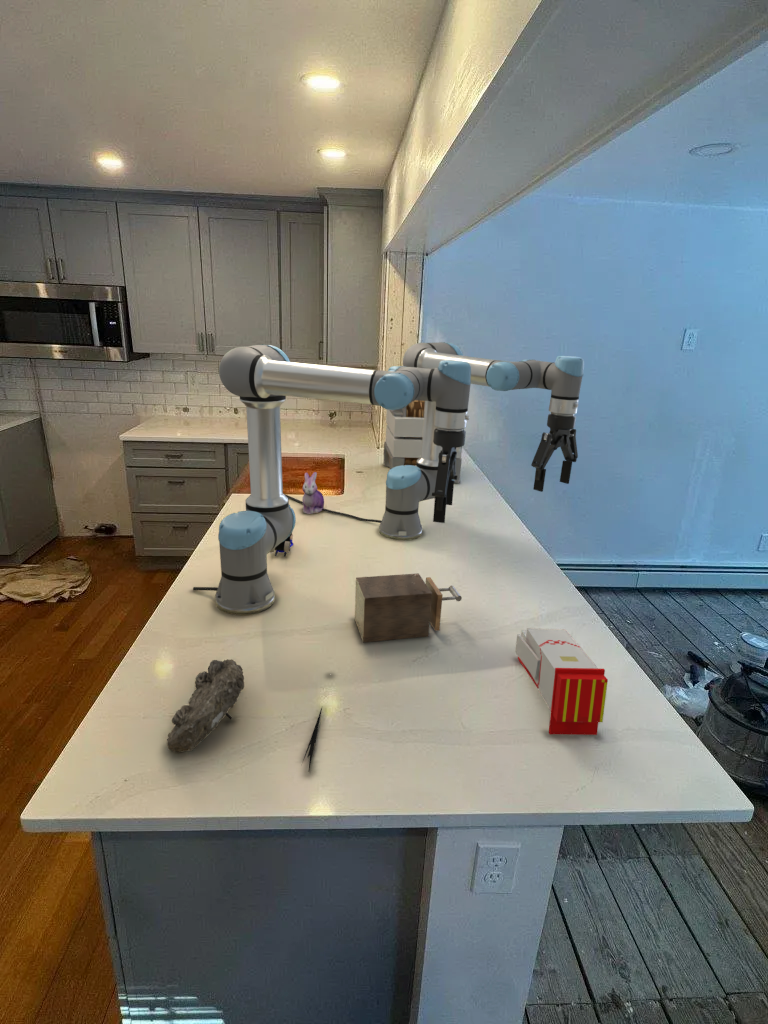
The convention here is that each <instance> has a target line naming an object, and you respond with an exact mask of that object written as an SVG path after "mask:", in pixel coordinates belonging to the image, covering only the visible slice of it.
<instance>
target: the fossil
mask: <svg viewBox="0 0 768 1024" xmlns="http://www.w3.org/2000/svg"><path fill="white" fill-rule="evenodd" d="M243 670H244V669H243V667H242V665H240V664H237V662H236V661H235V660H234V659H232V658H231V659H227V658H226V659H224V660H223V661H222V660H217V659H212V660H211V661H210V663H209V665H208V666H207V671H201V672H199V673H198V674H197V675H196V676H195V680H194V684H195V685H194V687H195V689H194V690H193V693H192V694H191V697H190V698H189V700H188V704H184V705H182V706H181V707H180V709H177V710H176V711H175V713H174V715H173V716H172V718H171V723H172V724H173V727H172V730H171V731H170V732H168V734H167V738H166V741H167V742H166V745H167V749H168V750H169V751H173V752H174V753H176V754H178V753H182V752H188V751H189V752H192V751H193V750H195V748H196V747H197V746H199V744H200V743H201V742H203V741H204V740H205V739H206V738H207V737H208V736H209V735H210V734H211V733H212V732H214V730H215V729H217V727H218V726H219V724H220V722H221V721H222V720H223V719H224V718H225V716H226V717H227V719H229V720H233V717H232V715H230V714H229V710H230V709H231V708H234V706H235V704H236V703H237V702H238V699H239V697H240V695H241V693H242V691H243V690H245V689H244V688H245V675H244V671H243Z"/></svg>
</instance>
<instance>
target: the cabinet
mask: <svg viewBox="0 0 768 1024" xmlns="http://www.w3.org/2000/svg"><path fill="white" fill-rule="evenodd" d="M354 593H355V595H354V621H355V624H356V627H357V629H358V632H359V635H360V638H361V640H362V643H371V642H372V643H373V642H382V641H393V640H404V639H413V638H414V639H415V638H424V637H425V638H427V637H429V634H430V633H429V632H430V609H431V596H432V593H431V591H430V590H429V588H428V587H427V585H426V581H424V579H423V577H422V576H421V574H420V573H417V572H416V573H405V574H404V573H403V574H389V575H374V576H360V577H359V576H357V577H355V592H354Z"/></svg>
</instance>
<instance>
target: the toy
mask: <svg viewBox="0 0 768 1024" xmlns="http://www.w3.org/2000/svg"><path fill="white" fill-rule="evenodd" d="M520 632H521V633H520V634H519V633H518V634H517V635H516V642H515V647H514V653H515V654H516V655H517V660H518V661H519V663H520V664H521V666H522V667H523V669H524V670H525V672H526V673H527V675H528V676H529V678H530V680H531V681H532V683H533V684H534V685H535V687H536V688H537V689H538V692H539V694H540V696H541V697H542V699H543V701H544V702H545V704H546V706H547V708H548V710H549V711H550V716H549V724H548V734H549V735H566V736H567V735H568V736H569V735H571V736H575V735H576V736H597V735H598V730H599V723H603V722H604V714H605V705H606V698H607V689H608V682H609V680H608V678H607V677H606V676H605V674H606V669H604V668H599V667H598V666H597V664H596V663H594V662H593V660H592V659H591V657H589V655H588V654H587V653H586V652H585V650H584V649H583V648H582V647H581V646H580V644H579V643H578V642H577V641H576V640H575V639H574V637H573V636H572V635H571V634H570V632H569V631H568V630H567V629H566V628H535V627H534V628H533V627H532V628H531V627H529V628H526V630H523V629H521V631H520Z"/></svg>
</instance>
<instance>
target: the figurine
mask: <svg viewBox="0 0 768 1024" xmlns="http://www.w3.org/2000/svg"><path fill="white" fill-rule="evenodd" d="M317 474H318V473H317V472H316V471H314V472H313V473H312V474H311V476H310V475H309V473H308V472H305V473H304V482H303V485H302V492H303V493H304V494H303V496H302V500H301V501H302V502H303V504H302V513H304V514H308V515H309V514H310V515H312V514H318V513H321V512H323V511H322V509H325V507H324V506H325V497H324V495H323V494H322V492H321V491H320V490H318V486H317V484H316V479H317Z"/></svg>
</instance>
